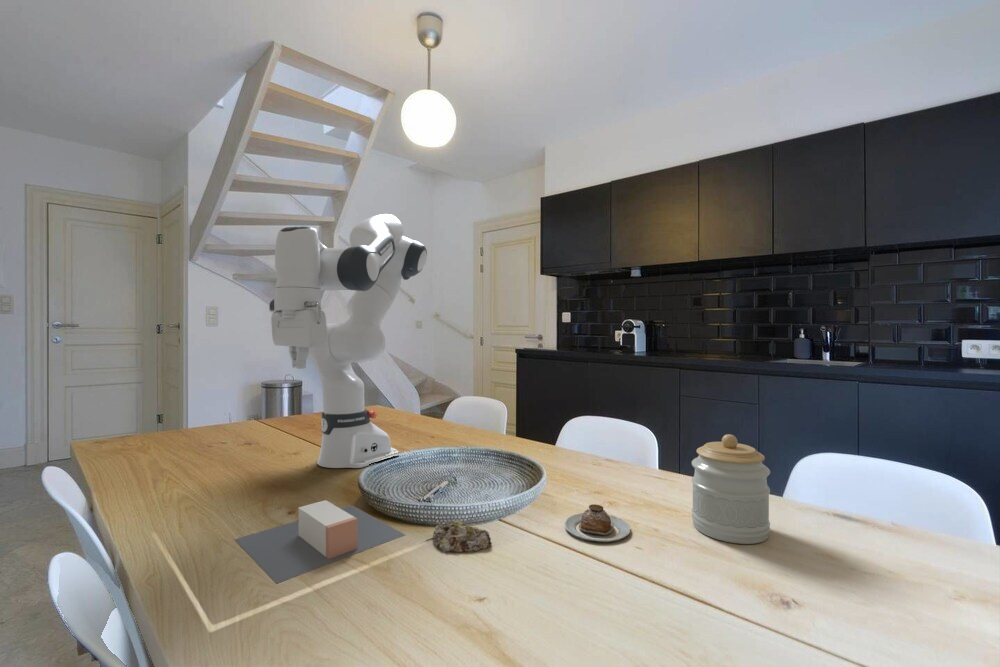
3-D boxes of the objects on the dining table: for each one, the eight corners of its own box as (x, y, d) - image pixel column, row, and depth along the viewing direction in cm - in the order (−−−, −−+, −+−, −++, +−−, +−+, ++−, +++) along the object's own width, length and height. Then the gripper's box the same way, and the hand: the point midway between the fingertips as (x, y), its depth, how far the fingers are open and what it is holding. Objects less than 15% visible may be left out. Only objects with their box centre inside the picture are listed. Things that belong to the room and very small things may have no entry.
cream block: (325, 500, 86) (357, 518, 77) (325, 526, 86) (357, 548, 77) (298, 507, 82) (328, 527, 74) (298, 535, 82) (328, 558, 74)
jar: (766, 522, 89) (766, 430, 88) (774, 552, 77) (774, 446, 77) (692, 511, 94) (692, 424, 94) (689, 537, 82) (690, 438, 82)
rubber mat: (351, 507, 96) (351, 504, 96) (405, 538, 82) (405, 534, 82) (234, 542, 81) (234, 539, 81) (276, 587, 67) (276, 583, 67)
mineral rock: (422, 538, 78) (440, 508, 85) (424, 560, 79) (442, 528, 86) (482, 549, 75) (496, 516, 82) (484, 571, 76) (498, 537, 83)
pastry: (581, 513, 94) (581, 491, 94) (639, 528, 87) (639, 503, 87) (553, 535, 84) (553, 510, 84) (616, 553, 77) (616, 526, 77)
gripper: (335, 301, 92) (335, 370, 92) (294, 305, 107) (295, 364, 107) (303, 299, 88) (304, 372, 88) (265, 304, 102) (266, 366, 102)
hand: (299, 368), depth 97 cm, fingers closed
